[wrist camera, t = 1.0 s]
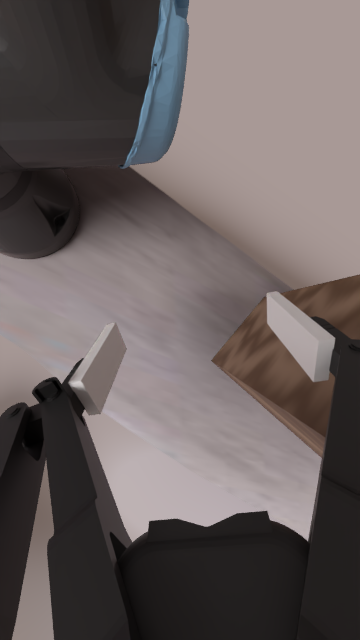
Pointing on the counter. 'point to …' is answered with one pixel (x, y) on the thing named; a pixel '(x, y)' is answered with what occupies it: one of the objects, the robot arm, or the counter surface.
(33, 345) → the counter surface
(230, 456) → the counter surface
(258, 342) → the walnut shelf
